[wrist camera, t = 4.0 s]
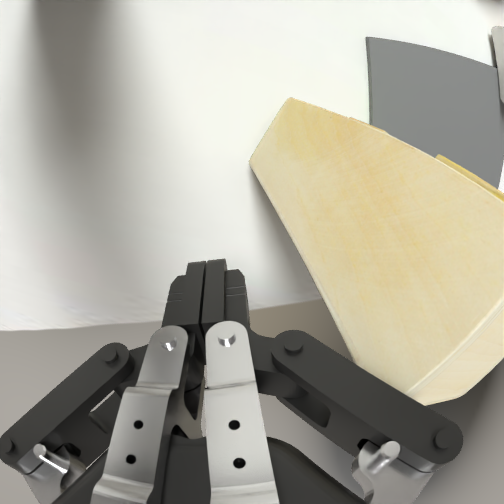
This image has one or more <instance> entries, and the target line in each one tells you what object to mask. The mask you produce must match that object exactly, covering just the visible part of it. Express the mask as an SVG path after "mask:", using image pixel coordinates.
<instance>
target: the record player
mask: <svg viewBox="0 0 504 504" xmlns="http://www.w3.org/2000/svg"><path fill="white" fill-rule="evenodd" d="M491 32H492V37H493V42H494V48H495V54H496V61H497V68H498V77H499V87H500V98H501V100H502V102H503V103H504V27H502V26H495V27H493V28H492V30H491Z"/></svg>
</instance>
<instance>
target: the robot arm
mask: <svg viewBox="0 0 504 504" xmlns="http://www.w3.org/2000/svg"><path fill="white" fill-rule="evenodd" d="M204 365H207V388H205V377H204ZM113 390H114V391H115V392H114V393H113V394H112V395H111V396H110V397H109V398H108V399H107V400H105V402H103V403H102V404H101V405H100V406H99V407H98V408H97V409H96V410H94V411H92V412H90V411H91V410H92V409H93V408H94V407H95V406H96V405H97V404H98V403H100V402H101V401H102V400H103V399H104V398H105V397H106V396H107V395H108V394H109V393H111V392H112V391H113ZM258 393H262V394H267V395H273V396H276V397H277V399H278V400H279V401H280V402H281V403H283V404H284V405H285V406H286V407H288V408H289V409H290V410H292V411H293V412H294V413H295V414H296V415H298V416H299V417H300V418H302V419H303V420H304V421H305V422H307V423H308V424H309V425H311V426H312V427H313V428H315V429H316V430H317V431H319V432H320V433H321V434H323V435H324V436H325V437H327V438H328V439H330V440H331V441H332V442H334V443H335V444H337V445H338V446H340V447H341V448H342V449H344V450H345V451H347V452H348V453H349V454H351V455H352V456H354V457H355V458H354V460H353V462H352V466H351V472H352V475H353V478H354V479H355V480H356V481H357V482H358V483H359V484H360V485H361V486H362V488H363V490H364V494H365V498H364V500H363V499H361V498H360V497H358V496H357V495H356V494H354V493H352V492H351V491H350V490H349V489H347V488H346V487H344V486H343V485H342V484H341V483H339V482H338V481H337V480H335V479H334V478H333V477H331V476H330V475H329V474H327V473H326V472H325V471H324V470H322V469H321V468H320V467H319V466H317V465H316V464H315V463H314V462H313V461H311V460H310V459H309V458H308V457H307V456H305V455H304V454H303V453H302V452H301V451H299V450H298V449H296V448H295V447H293V446H292V445H290V444H288V443H286V442H284V441H281V440H278V439H275V438H271V437H266V434H265V428H264V423H263V417H262V412H261V407H260V402H259V396H258ZM203 399H204V405H205V422H206V437H203V436H202V430H201V415H202V407H203ZM462 445H463V435H462V432H461V430H460V428H459V427H458V425H457V424H455V423H454V422H452V421H451V420H449V419H447V418H445V417H444V416H442V415H440V414H438V413H436V412H435V411H433V410H431V409H429V408H428V407H426V406H424V405H423V404H421V403H419V402H417V401H416V400H414V399H412V398H411V397H409V396H407V395H405V394H404V393H402V392H400V391H399V390H397V389H395V388H394V387H392V386H390V385H389V384H387V383H385V382H384V381H382V380H380V379H379V378H377V377H375V376H374V375H372V374H371V373H369V372H367V371H366V370H364V369H362V368H361V367H359V366H358V365H356V364H354V363H353V362H351V361H349V360H348V359H346V358H345V357H343V356H342V355H340V354H339V353H337V352H335V351H334V350H332V349H331V348H329V347H327V346H326V345H324V344H323V343H321V342H320V341H318V340H317V339H315V338H314V337H312V336H310V335H309V334H307V333H305V332H303V331H299V330H289V331H285V332H283V333H280V334H279V335H277V336H276V337H275V338H269V337H264V336H260V335H258V334H256V333H255V332H253V331H252V330H251V329H250V321H249V308H248V299H247V292H246V285H245V278H244V276H243V274H242V273H241V272H240V270H239V269H236V270H227V265H226V260H225V259H217V260H209V261H207V262H206V261H201V262H192V263H188V266H187V271H186V275H183V276H177V277H176V279H175V280H174V281H173V282H172V284H171V286H170V291H169V295H168V299H167V304H166V308H165V313H164V317H163V322H162V327H161V328H160V329H159V330H157V331H156V332H155V333H154V334H153V335H152V336H151V338H150V341H149V344H147V345H145V346H142V347H139V348H136V349H132V350H130V351H129V350H128V349H127V347H126V346H125V345H123V344H120V343H110V344H107V345H105V346H104V347H102V348H101V349H100V350H99V351H97V352H96V353H95V354H94V355H93V356H91V357H90V358H89V359H88V360H87V361H86V362H84V363H83V364H82V365H81V366H80V367H79V368H77V369H76V370H75V371H74V372H73V373H72V374H71V375H70V376H68V377H67V378H66V379H65V380H64V381H62V382H61V383H60V384H59V385H58V386H57V387H56V388H54V389H53V390H52V391H51V392H50V393H49V394H48V395H47V396H45V397H44V398H43V399H42V400H41V401H40V402H38V403H37V404H36V405H35V406H34V407H33V408H32V409H31V410H29V411H28V412H27V413H26V414H25V415H24V416H23V417H22V418H21V419H20V420H19V421H17V422H16V423H15V424H14V425H13V426H12V427H10V428H9V429H8V430H7V431H6V432H5V433H4V434H3V435H2V436H1V438H0V459H1V460H2V461H3V462H4V463H5V464H7V465H9V466H10V467H12V468H14V469H16V470H17V471H18V472H20V473H21V474H22V475H23V477H24V478H25V480H26V482H27V483H28V485H29V487H30V489H31V490H32V492H33V493H34V495H35V497H36V498H37V500H38V502H39V503H40V504H412V503H413V502H414V500H415V499H416V498H417V496H418V495H419V493H420V492H421V491H422V489H423V488H424V486H425V485H426V484H427V482H428V481H429V479H430V478H431V476H432V474H433V473H434V472H435V471H436V470H438V469H439V468H441V467H442V466H444V465H445V464H447V463H449V462H450V461H452V460H453V459H454V458H455V457H456V456H457V455H458V454H459V452H460V451H461V448H462ZM108 447H109V448H108ZM107 448H108V449H107ZM106 449H107V450H106ZM105 450H106V451H105ZM104 451H105V452H104ZM103 452H104V453H103ZM102 453H103V454H102ZM101 454H102V455H101ZM100 455H101V456H100ZM99 456H100V457H99ZM98 457H99V458H98ZM97 458H98V459H97ZM95 459H97V460H96V461H95V462H94V463H93V464H92V465H91V466H90V467H89V468H88V469H87V470H86V468H87V467H88V466H89V465H90V464H91V463H92V462H93V461H94V460H95Z"/></svg>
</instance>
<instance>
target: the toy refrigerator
mask: <svg viewBox="0 0 504 504" xmlns="http://www.w3.org/2000/svg"><path fill="white" fill-rule="evenodd" d="M249 165H250V166H251V168H252V170H253V172H254V173H255V175H256V177H257V178H258V180H259V182H260V184H261V185H262V187H263V189H264V191H265V192H266V194H267V196H268V198H269V199H270V201H271V203H272V205H273V207H274V209H275V210H276V212H277V214H278V216H279V218H280V219H281V221H282V223H283V225H284V227H285V229H286V230H287V232H288V234H289V235H290V237H291V239H292V241H293V243H294V245H295V247H296V248H297V250H298V252H299V254H300V256H301V258H302V260H303V261H304V263H305V265H306V267H307V269H308V271H309V273H310V275H311V277H312V279H313V281H314V283H315V285H316V287H317V289H318V291H319V293H320V295H321V297H322V299H323V300H324V302H325V304H326V306H327V308H328V310H329V312H330V314H331V316H332V318H333V320H334V322H335V324H336V326H337V328H338V330H339V331H340V334H341V336H342V338H343V340H344V342H345V344H346V346H347V348H348V350H349V352H350V354H351V356H352V358H353V361H354V363H355V364H356V365H358V366H359V367H361V368H362V369H364V370H366V371H367V372H369V373H371V374H372V375H374V376H375V377H377V378H379V379H380V380H382V381H384V382H385V383H387V384H389V385H390V386H392V387H394V388H395V389H397V390H399V391H400V392H402V393H404V394H405V395H407V396H409V397H411V398H412V399H414V400H416V401H417V402H419V403H421V404H423V405H424V406H426V405H429V404H434V403H439V402H443V401H447V400H451V399H455V398H458V397H460V396H462V395H464V394H465V393H466V392H467V391H468V390H470V389H471V388H472V387H473V386H474V385H475V384H477V383H478V382H479V381H480V380H481V379H482V378H483V377H484V376H485V375H486V374H487V373H488V372H489V371H491V370H492V369H493V368H494V367H495V366H496V365H497V364H498V363H499V362H500V361H501V360H502V359H503V357H504V193H502V192H501V191H499V190H498V189H496V188H495V187H493V186H492V185H490V184H489V183H487V182H486V181H484V180H482V179H481V178H479V177H478V176H476V175H475V174H473V173H471V172H470V171H468V170H466V169H464V168H463V167H461V166H459V165H458V164H456V163H454V162H452V161H451V160H449V159H447V158H446V157H444V156H442V155H440V154H439V155H437V156H436V158H434V157H432V156H430V155H428V154H426V153H424V152H423V151H421V150H419V149H417V148H415V147H413V146H411V145H409V144H407V143H405V142H403V141H401V140H399V139H397V138H395V137H393V136H391V135H389V134H388V133H387V132H386V131H384V130H382V129H379V128H377V127H374V126H372V125H369V124H367V123H364V122H362V121H359V120H356V119H354V118H351V117H350V118H348V117H345V116H342V115H340V114H337V113H334V112H332V111H329V110H326V109H323V108H321V107H318V106H315V105H312V104H309V103H306V102H303V101H300V100H297V99H294V98H288V99H287V100H286V102H285V103H284V104H283V106H282V107H281V109H280V110H279V112H278V113H277V115H276V117H275V118H274V120H273V121H272V123H271V125H270V126H269V128H268V130H267V131H266V133H265V134H264V136H263V138H262V139H261V141H260V143H259V144H258V146H257V148H256V149H255V151H254V153H253V154H252V156H251V158H250V160H249Z"/></svg>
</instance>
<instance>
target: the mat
mask: <svg viewBox="0 0 504 504" xmlns="http://www.w3.org/2000/svg"><path fill="white" fill-rule="evenodd" d="M366 46H367V59H368V75H369V100H370V125H372V126H374V127H377V128H379V129H382V130H384V131H386V132H387V133H388V134H389V135H391V136H393V137H395V138H397V139H399V140H401V141H403V142H405V143H407V144H409V145H411V146H413V147H415V148H417V149H419V150H421V151H423V152H424V153H426V154H428V155H430V156H432V157H434V158H436V156H437V155H439V154H440V155H442V156H444V157H446V158H447V159H449V160H451V161H452V162H454V163H456V164H458V165H459V166H461V167H463V168H464V169H466V170H468V171H470V172H471V173H473V174H475V175H476V176H478V177H479V178H481V179H482V180H484V181H486V182H487V183H489V184H490V185H492V186H493V187H495V188H496V189H498V187H499V182H500V177H501V172H502V166H503V160H504V103H503V102H502V100H501V98H500V87H499V77H498V69H497V68H495V67H492V66H489V65H487V64H484V63H481V62H478V61H475V60H472V59H469V58H466V57H463V56H460V55H456V54H453V53H449V52H446V51H442V50H438V49H434V48H430V47H426V46H421V45H417V44H412V43H406V42H401V41H395V40H389V39H382V38H375V37H366Z"/></svg>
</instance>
